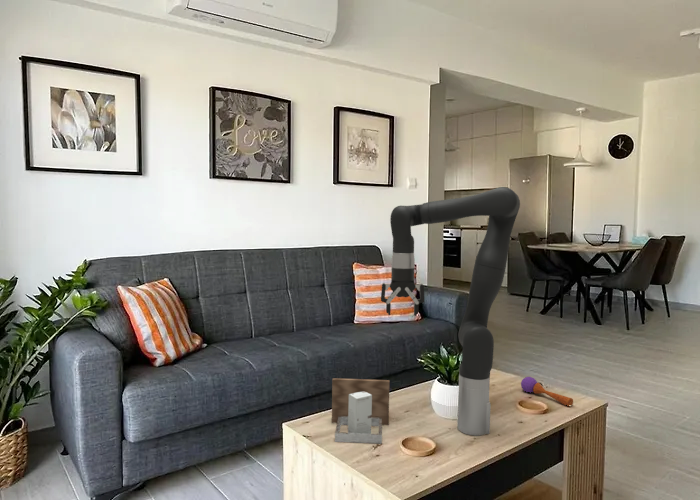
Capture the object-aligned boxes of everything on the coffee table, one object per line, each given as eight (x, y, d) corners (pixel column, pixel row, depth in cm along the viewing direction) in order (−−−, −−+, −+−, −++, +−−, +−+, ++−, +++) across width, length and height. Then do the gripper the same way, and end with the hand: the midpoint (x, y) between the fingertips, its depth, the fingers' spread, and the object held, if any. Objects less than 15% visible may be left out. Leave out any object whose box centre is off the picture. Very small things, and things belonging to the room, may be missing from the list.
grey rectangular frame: (381, 425, 157) (381, 417, 157) (381, 443, 145) (381, 435, 144) (338, 423, 158) (338, 415, 158) (334, 441, 145) (335, 433, 145)
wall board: (388, 419, 162) (389, 376, 161) (388, 424, 157) (389, 381, 156) (333, 417, 163) (333, 374, 162) (331, 422, 159) (332, 379, 158)
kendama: (565, 398, 173) (517, 377, 189) (565, 413, 174) (517, 391, 191) (575, 392, 176) (527, 372, 192) (575, 407, 177) (528, 386, 194)
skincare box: (355, 438, 147) (356, 398, 147) (347, 433, 151) (347, 394, 150) (372, 434, 151) (373, 394, 150) (363, 428, 155) (364, 390, 154)
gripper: (423, 265, 168) (422, 313, 169) (381, 264, 169) (380, 312, 170) (425, 267, 161) (424, 317, 162) (381, 267, 161) (380, 316, 163)
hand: (402, 314), depth 166 cm, fingers open, 8 cm apart
